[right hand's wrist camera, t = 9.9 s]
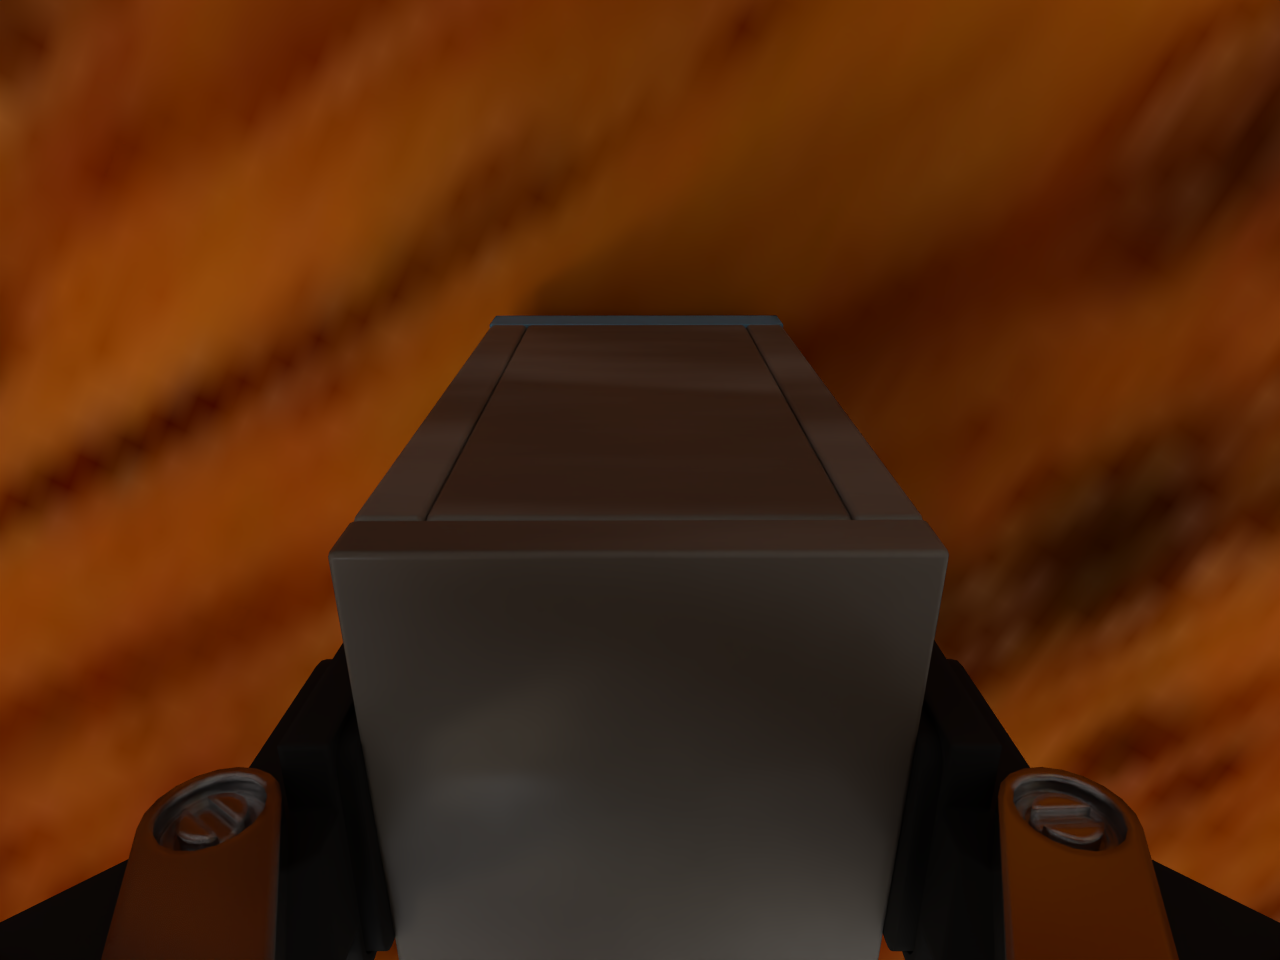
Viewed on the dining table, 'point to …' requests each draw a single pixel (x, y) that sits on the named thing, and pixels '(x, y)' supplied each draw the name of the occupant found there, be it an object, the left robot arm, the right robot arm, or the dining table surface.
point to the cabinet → (638, 651)
